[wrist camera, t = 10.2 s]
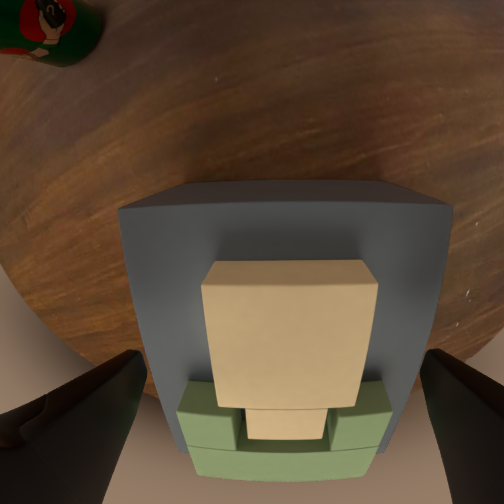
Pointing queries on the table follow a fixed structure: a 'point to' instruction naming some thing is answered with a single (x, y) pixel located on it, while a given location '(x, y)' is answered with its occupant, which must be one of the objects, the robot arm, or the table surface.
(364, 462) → the green pad
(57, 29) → the soda can
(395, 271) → the block
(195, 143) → the table surface
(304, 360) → the cream pad
